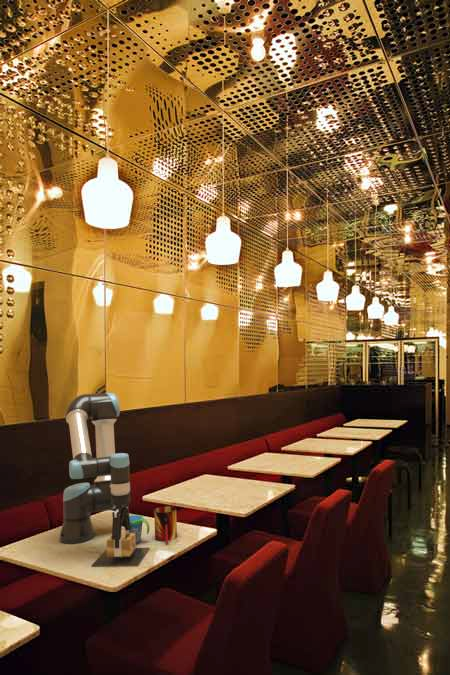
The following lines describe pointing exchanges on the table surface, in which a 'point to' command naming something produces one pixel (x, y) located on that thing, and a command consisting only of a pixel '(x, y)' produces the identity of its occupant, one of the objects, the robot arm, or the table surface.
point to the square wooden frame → (123, 545)
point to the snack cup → (137, 526)
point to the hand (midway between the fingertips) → (121, 551)
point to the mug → (165, 524)
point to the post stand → (123, 560)
